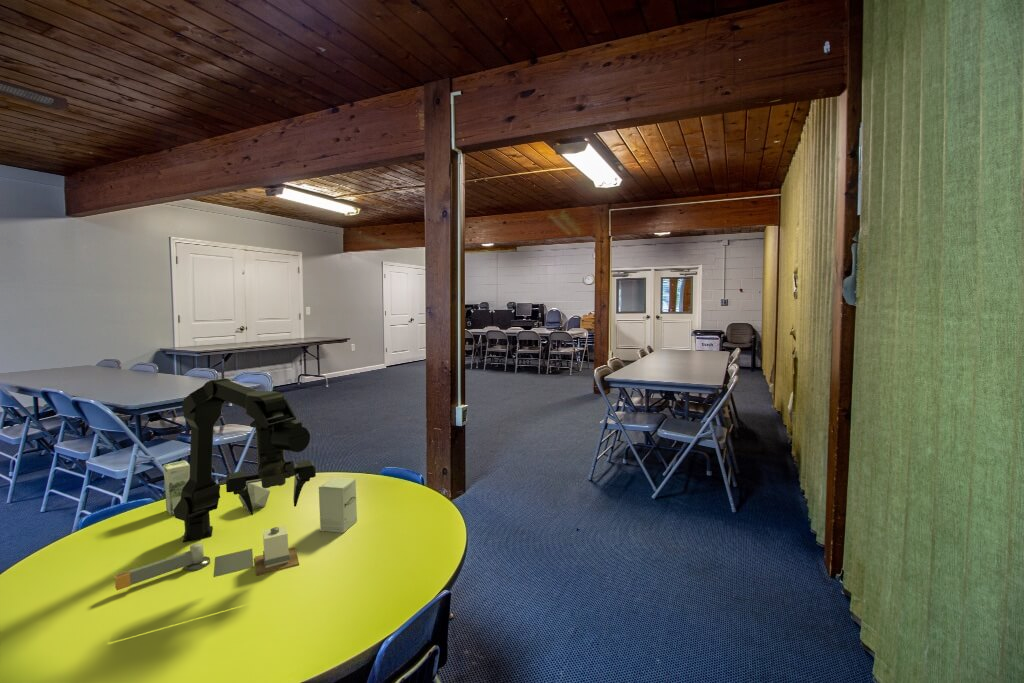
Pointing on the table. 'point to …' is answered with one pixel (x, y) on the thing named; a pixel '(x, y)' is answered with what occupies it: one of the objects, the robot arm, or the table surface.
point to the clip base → (198, 565)
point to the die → (256, 495)
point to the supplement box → (337, 504)
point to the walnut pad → (263, 570)
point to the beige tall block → (275, 546)
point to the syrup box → (175, 483)
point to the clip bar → (160, 567)
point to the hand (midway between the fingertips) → (274, 510)
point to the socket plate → (233, 562)
